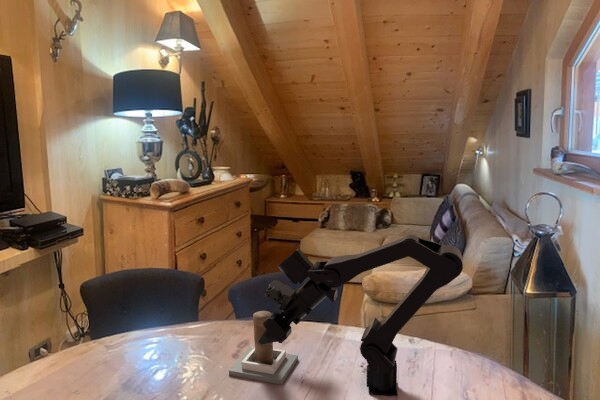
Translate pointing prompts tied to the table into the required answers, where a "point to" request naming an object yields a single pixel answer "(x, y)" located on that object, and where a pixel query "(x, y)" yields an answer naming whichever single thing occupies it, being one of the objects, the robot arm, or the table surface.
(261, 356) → the walnut post
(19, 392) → the table surface
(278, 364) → the grey framed base plate
